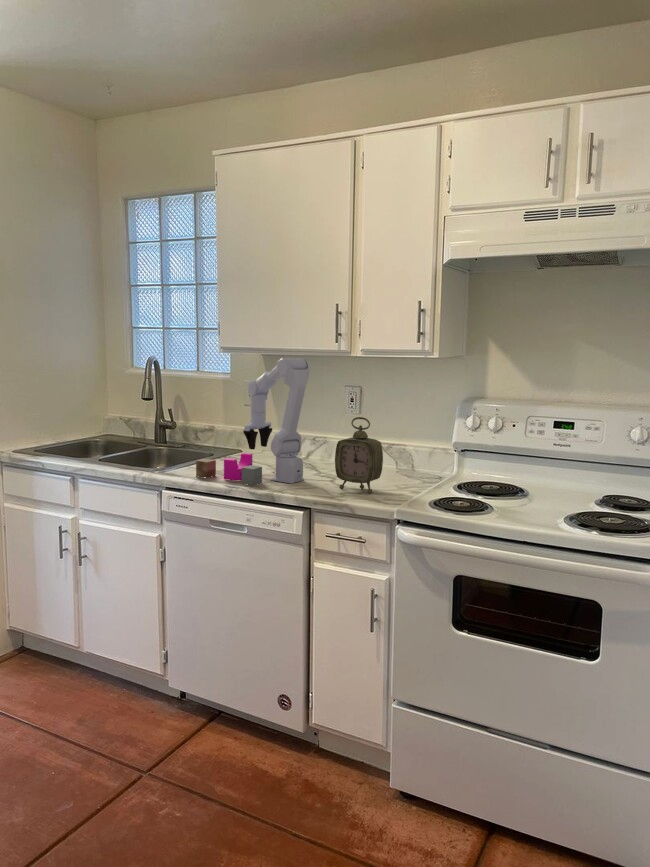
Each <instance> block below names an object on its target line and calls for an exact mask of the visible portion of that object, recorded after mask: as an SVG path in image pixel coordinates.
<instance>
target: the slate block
mask: <svg viewBox="0 0 650 867" xmlns="http://www.w3.org/2000/svg"><path fill="white" fill-rule="evenodd" d="M260 483H262V484H263V467H262V466H259V465H253V464H252V465H250V466H246V467H242V480H241V485H243V484H248V485H247V486H249V485H256V486H258V485H257V484H259V485H261V484H260Z"/></svg>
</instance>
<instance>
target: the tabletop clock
mask: <svg viewBox="0 0 650 867" xmlns="http://www.w3.org/2000/svg"><path fill="white" fill-rule="evenodd" d="M355 420H363V421H366V422H367V424H368V426H366V427H363V425H361V424H360V425H359V426H356V425H354V421H355ZM351 426H352V427H353V428H354V429H356V430H355V431H354V432H353V435H352V437H349V438H345V439H341V440H338V441H337V444H336V447H335V454H334V466H335V467H334V468H335V474H336V477H337V478H338V479H339V480H341V481H343V483H342V484H340V485H339V486H338V487H339V489H340V490H343V489H345V484H346V483H347V482H349V483H356V484H360V485H359V488H361V490H363V489H365V485H364V484H366V485H367V491H366V492H367V493H368V494H372V493H373V489H372V488H371V484H370V483H371V482H373V481H375V480H378V479H380V477H381V475H382V471H383V464H384V454H383V453H384V450H383V445H382V443H381V441H379V440H378V439H375V438H371V437H369V436H368V433H367V432H366V431H365V430H367V429H369V428H370V426H371V422H370V421H369V419H368V418H366V417H363V416H358V417H354V418H353V419H352V420H351Z"/></svg>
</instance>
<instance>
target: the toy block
mask: <svg viewBox="0 0 650 867" xmlns="http://www.w3.org/2000/svg"><path fill="white" fill-rule="evenodd" d="M250 465H252V466H253V453H248V452H246V453H245V452H243V453H241V454H240V458H239V462H238V459H237V458H224V459H223V480H224V479H230V480H229V481H232V480H241V481H242V467H246V466H250Z"/></svg>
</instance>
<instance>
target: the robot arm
mask: <svg viewBox="0 0 650 867" xmlns="http://www.w3.org/2000/svg"><path fill="white" fill-rule="evenodd" d="M310 371H311V367H310V364H309V361H308V360H307V358H305V357H300V358H299V357H298V358H297V357H295V358H294V357H293V358H292V357H290V358H289V357H287V358H286V357H281V358H280V359H279V360H277V361H276V366H274V367H273V368H272V370H271V371H268V370H267V371H264V372H263V374H262V375H261V376H259V377H257V378H256V380H253V379H251V380H249V381H248V384H247V393H248V395H249V396H250V422H249V423H248V424H246V425H244V429H243V430H242V431H243V434H244V436H245V438H246V441H247V445H248V448H249V450H255V449H256V444H257V443H256V442H257V437H258V435H259V440H260V447H263V448H266V447H268V442H269V439H270V435H271V434H272V432H273V428H272V421H271V422H270V421H267V420H266V419H267V418H266V411H267V410H266V408H267V400H268V394H269V393H270V392H269V391H270V389H273V387H274V386H276V384H277V381H278V380H279V379H280V378H281V379H282V381H283V383H284V384H285V385H288V387H289V391H288V395H287V400H286V405H285V409H284V415H283V418H282V419H283V420H282V425H281V427H280V429H278V430H277V431H276V432H275V433H274V434H273V435H274V436H273V439H272V440H271V441H270V450H271V453H272V454H273V456H275V477H272V478H270V481H273V482H282V483H287V484H296V483H298V482H302V481H304V480H305V478H304V462H303V459H302V458H301V457H298V456H299V453H300V452H301V450H302V435H301V434H300V433H299V432H298V431H297V430H298V425H299V420H300V415H301V411H302V407H303V401H304V397H305V391H306V387H307V383H308V380H309V375H310ZM255 430H258V431H255ZM258 433H259V434H258Z"/></svg>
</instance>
